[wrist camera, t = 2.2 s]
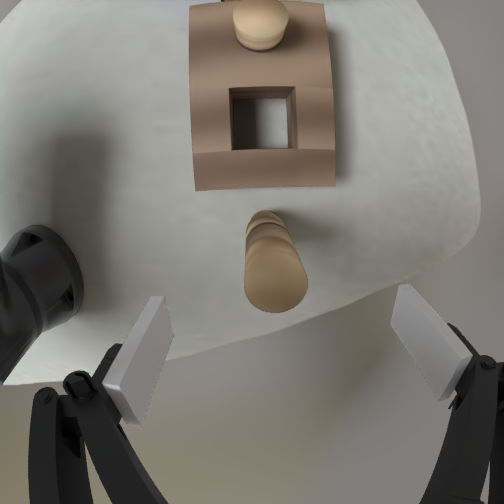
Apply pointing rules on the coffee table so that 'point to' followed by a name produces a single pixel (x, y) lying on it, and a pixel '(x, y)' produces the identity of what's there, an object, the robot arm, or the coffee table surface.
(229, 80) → the wooden peg block
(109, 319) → the coffee table surface
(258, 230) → the leg
